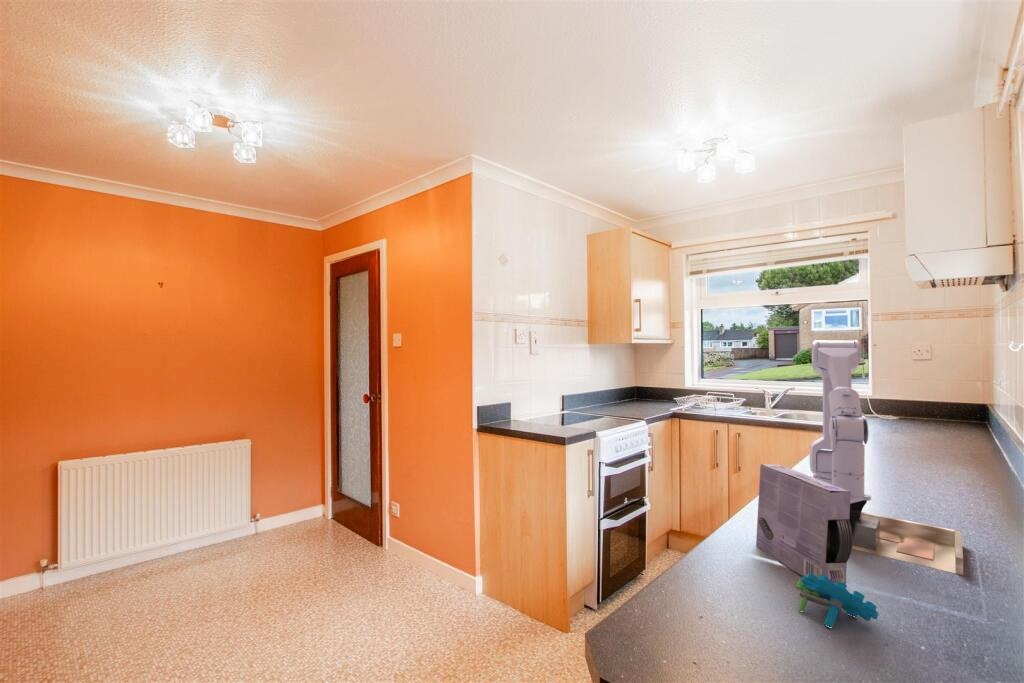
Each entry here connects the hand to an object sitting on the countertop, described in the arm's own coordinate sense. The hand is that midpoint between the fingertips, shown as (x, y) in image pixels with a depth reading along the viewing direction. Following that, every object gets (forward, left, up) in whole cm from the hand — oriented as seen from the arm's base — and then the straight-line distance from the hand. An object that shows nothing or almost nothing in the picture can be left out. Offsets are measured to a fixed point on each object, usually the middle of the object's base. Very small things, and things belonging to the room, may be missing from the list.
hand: (847, 535), depth 103 cm
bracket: (0, +2, -1) cm, 2 cm away
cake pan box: (-5, -20, -2) cm, 21 cm away
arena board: (+6, +5, -2) cm, 8 cm away
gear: (+3, -36, -2) cm, 36 cm away
